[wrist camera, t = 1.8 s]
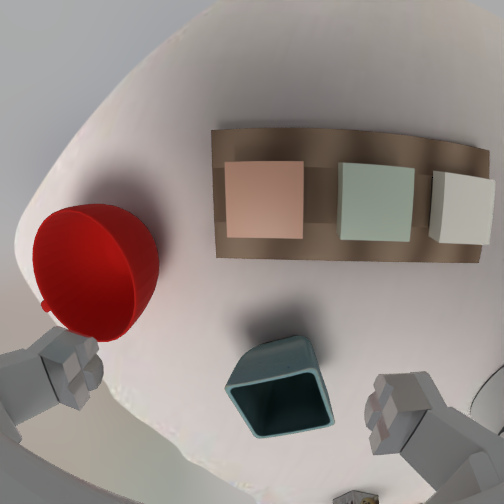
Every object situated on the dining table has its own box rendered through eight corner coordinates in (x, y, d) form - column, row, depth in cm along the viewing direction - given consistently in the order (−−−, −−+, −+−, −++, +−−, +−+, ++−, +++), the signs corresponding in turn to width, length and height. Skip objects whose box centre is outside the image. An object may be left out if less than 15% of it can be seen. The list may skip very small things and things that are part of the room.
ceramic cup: (57, 242, 34) (5, 267, 25) (141, 170, 30) (83, 178, 20) (106, 322, 37) (64, 363, 27) (201, 272, 32) (166, 317, 23)
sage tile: (395, 166, 25) (414, 168, 20) (391, 228, 27) (409, 241, 22) (334, 162, 26) (342, 162, 21) (332, 226, 27) (340, 239, 23)
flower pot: (330, 372, 34) (336, 426, 25) (264, 387, 36) (255, 440, 27) (312, 316, 32) (316, 367, 23) (238, 335, 34) (222, 386, 25)
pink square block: (301, 161, 26) (303, 161, 21) (301, 225, 28) (302, 238, 23) (236, 161, 27) (224, 161, 22) (238, 224, 29) (227, 237, 24)
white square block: (469, 175, 24) (495, 180, 19) (464, 232, 25) (488, 245, 21) (422, 169, 24) (445, 172, 20) (418, 229, 26) (439, 242, 22)
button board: (477, 150, 24) (489, 150, 21) (468, 255, 27) (478, 263, 25) (218, 132, 27) (211, 130, 25) (222, 250, 31) (216, 257, 29)
